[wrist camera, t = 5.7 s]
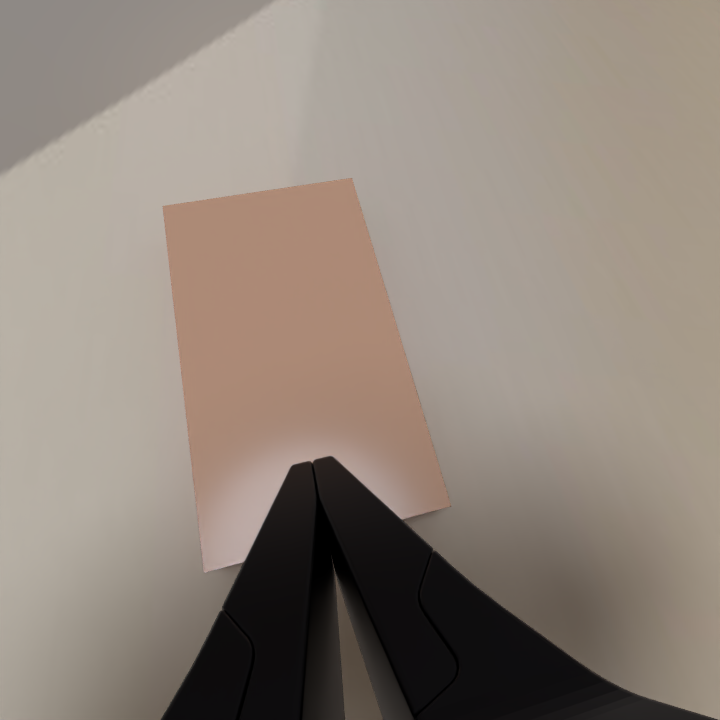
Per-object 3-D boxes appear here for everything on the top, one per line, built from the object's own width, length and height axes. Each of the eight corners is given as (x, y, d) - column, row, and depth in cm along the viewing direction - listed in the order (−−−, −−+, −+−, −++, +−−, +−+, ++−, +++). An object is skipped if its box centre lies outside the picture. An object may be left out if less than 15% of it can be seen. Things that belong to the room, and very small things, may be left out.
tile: (451, 506, 14) (351, 177, 19) (204, 573, 13) (162, 206, 18) (435, 508, 16) (349, 213, 21) (221, 565, 15) (181, 240, 20)
